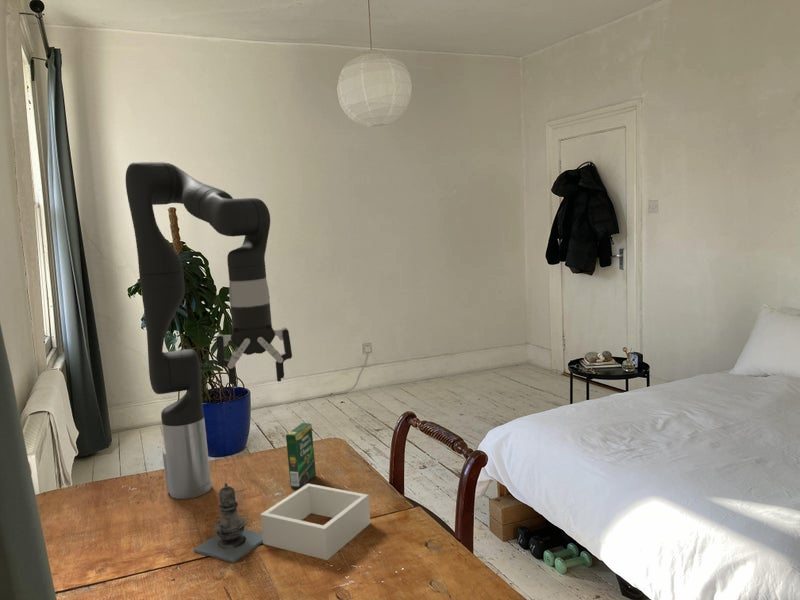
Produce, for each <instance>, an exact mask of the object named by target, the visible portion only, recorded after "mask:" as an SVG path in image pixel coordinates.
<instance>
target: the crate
mask: <svg viewBox="0 0 800 600" xmlns="http://www.w3.org/2000/svg"><path fill="white" fill-rule="evenodd" d="M369 497H370V495H369V494H366V493H360V492H355V491H351V490H350V491H349V490H345V489H340V488H333V487H329V486H323V485H318V484H313V483H306V484H305V485H304V486H302V487H301V488H300V489H299V488H298V489H297V490H295V491H293V492H292V493H291V494H289V495H287V497H285V498H284V499H282V500H281V501H279V502H277V503H275V504H274V505H273V506H271V507H269V508H268V509H267V510H265V511H263V512H261V513H260V526H261V533H262V537H263V542H262V544H263V545H267V546H271V547H274V548H277V549H282V550H285V551H289V552H294V553H296V554H297V553H298V554H302V555H306V556H309V557H313V558H317V559H321V560H324V561H328V560H329V559H331V558H332V557H333V556H334V555H335V554H336V553H337V552H339V551H340V550H341V549H342V548H343V547H344V546H346V545H347V544H348V543H350V541H352V540H353V539H354V538H356V536H358V534H359V533H361V532H362V531H363V530H365V528H366V527H368V526H369V525H371V512H370V499H369ZM311 514H313V515H318V516H323V517H326V518H331V519H330V520H328V521H327V522H326V523H325V524H323V525H322V524H319V523H314V522H309V521H306V520H304V519H305V518H307V517H308V516H310V515H311Z"/></svg>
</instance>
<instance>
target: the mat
mask: <svg viewBox="0 0 800 600" xmlns="http://www.w3.org/2000/svg"><path fill="white" fill-rule="evenodd" d="M241 535H244V536H245V537H246V541H245V543H244V544H242V545H241V546H239V547H236V548H232V549H222V548H220V547H219V546H218V542H219V541H220V540H221V539H222V538H220V537H219V536H218V534H217V533H216V535H214V536H213V537H211V538H209V539H207V540H206V541H205V542H203V543H201V544H200V545H199V546H196V547H195V548H194V549H193V552H194V553H197V554H200V555H205V556H208V557H211V558H215V559H218V560H223V561H225V562H229V563H233V564H234V563H236V562H237V561H238V560H240V559H241V558H243V557H245V555H247V554H248V553H250V552H251V551H252V550H254V549H256V548H257V547H258V546H259V545H261V544H263V537H262V532H259V531H255V530H250V529H246V528H244V531H243V533H242V534H241Z"/></svg>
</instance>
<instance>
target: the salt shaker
mask: <svg viewBox="0 0 800 600" xmlns="http://www.w3.org/2000/svg"><path fill="white" fill-rule="evenodd" d="M218 495H219V496H218V497H219V505H218V510H219V511H220V520H219V521H218V522H217V523H215V525H214V530H215V531H216V535H217V534H218V536H219V537H220V538H222V539H221V540H220V541H219V542H218V546H219V547H220V548H222V549H232V548H236V547H239V546H241V545H242V544H244V543H245V541H246V537H245V536H244V535H241V534H242V533H243V531H244V529H246V528H245V526H246V524H247V521H246V519H245V518H244V517H239V514H238V506H239V503H238V502H237V501H236V494H235V488H234V487H232V486H229V484H228V483H227V482H225V483H224V484H223V487H222V488H221V489H220V490H219V492H218Z"/></svg>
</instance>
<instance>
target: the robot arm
mask: <svg viewBox="0 0 800 600" xmlns="http://www.w3.org/2000/svg"><path fill="white" fill-rule="evenodd" d="M125 171H126V172H125V188H126V189H125V190H126V197H127V200H128V207H129V210H130V216H131V220H132V225H133V230H134V236H135V243H136V251H137V261H138V262H137V263H138V274H139V275H138V276H139V284H140V290H141V291H140V292H141V297H142V305H143V310H144V311H143V312H144V318H145V319H144V320H145V326H146V341H147V343H146V345H147V357H148V358H147V359H148V374H149V382H150V385H151V389H152V390H153V393H155V394H157V395H165V394H170V393H172V394H173V393H177V392H179V393H180V392H184V391H186V392H185V394H184V395H182V397H180V398H179V399H178V400H177V401H175V402H173V403H171V404H169V405H167V406H166V407H164V408H162V411H161V413H160V414H161V416H160V417H161V419H160V420H161V426H162V427H161V428H162V434H163V443H164V452H163V454H162V459H163V468H164V477H165V486H166V493H168V494H170V496H171V498H173V499H177V500H179V499H180V500H186V499H194V498H196V497H198V498H199V497H200V496H203V495H205V494H207V493H208V492H210V491H211V489H212V480H211V479H212V478H211V471H210V469H211V468H210V459H209V450H208V442H207V431H206V423H205V422H206V421H205V413H204V411H205V410H204V406H203V405H204V404H203V396H202V395H203V394H202V392H203V391H202V374H201V372H202V371H201V361H200V358H199V355H198V353H197V351H196V350H195V349H193V348H192V349H191V348H189V349H181V350H173V351H167V352H166V351H165V352H163V349H164V342H165V338H166V334H167V332H168V329H169V327H170V324H171V322H172V321H173V319H174V316H175V315H176V314H177V312H178V310H179V308H180V306H181V304H182V302H183V300H184V297H185V293H186V286H185V285H186V284H185V275H184V267H183V262H182V260H181V259H180V256H179V255H178V253H177V252H176V251H175V248H174V247H173V246H172V245H171V244H170V243H169V241H168V240H167V239H166V238H165V236H164V234H163V233H162V232H161V230H160V228H159V226H158V223H157V220H156V217H155V213H154V207H153V206H157V205H169V204H180V205H181V204H182V205H183V206H184V208H185V210H186V211H187V212H188V213H189V215H191V216H193V217H195V218H196V219H199V220H201V221H203V222H206V223H208V224H209V225H210V227H212V228H213V229H214V230H215V231H216V232H217V233H218V234H219V235H221V236H226V237H242V236H243V237H244V239H243V242H242V245H240V247H237V248H235V249H232V250H230V251H229V252H228V253H227V259H226V260H227V261H226V263H227V270H228V283H229V284H228V285H229V286H228V297H229V305H230V306H229V307H230V318H231V326H232V332H231V334H222V333H219V334H217V335H216V353H217V356H216V357H217V365H218V366H219V367H223V368H226V369H227V372H228V373H227V374H228V382H229V385H232V386H233V387H234V388H235V387H237V386H238V383H237V382H238V380H237V372H236V366H235V365H236V364H237V362H238V361H239V360H240V359H241V357H242V355H243V354H244V355H246V356H249V355H253V354H260V355H261V354H264V353H265V352H267V353H268V354H269V355H270V356H272V357H273V359H274V360H276V361H275V370H276V372H275V374H276V381H277V382H281V381H282V379H284V377H285V370H284V362H285V361H286V360H291V359H292V357H293V353H292V345H291V338H290V332H289V329H288V328H287V327H285V326H284V327H282V328H279V329H274V328H273V324H272V323H273V322H272V315H271V314H272V313H271V302H270V301H271V300H270V291H269V290H270V289H269V286H268V281H267V272H266V271H267V270H266V261H265V257H266V250H267V244H268V239H269V235H270V234H269V233H270V228H271V227H270V226H271V213H270V210H269V208H268V205H267V204H266V203H265V201H263V200H261V199H260V198H257V197H256V198H255V197H253V198H252V197H249V198H247V197H245V198H234V197H233V196H232V195H231V194H229V192H227V191H225V190H222V189H219V188H217V187H214V186H212V185H209V184H206V183H204V182H201V181H199V180H198V179H195V178H194V177H192V176H190V175H189V174H188V173H187V172H185V171H184V170H182V169H181V168H179V167H178V166H176V165H175V164H171V163H170V162H166V161H133V162H131V163H129V165H128V166H127V168H126V170H125ZM275 337H278V339H279V340H280V341H282V342H283V349H284V352H283V353H280V352H279V351H278V350H277V349H276V348H275V347H274V346H273V345H272V342H273V341H274V339H275ZM230 341H231V342H232V344H234V345H235V347H236V348H235V349H234V351H233V352H232V355H231V357H230V358H229V359H227V358H225V347H227V346H228V344H229V342H230Z"/></svg>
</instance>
